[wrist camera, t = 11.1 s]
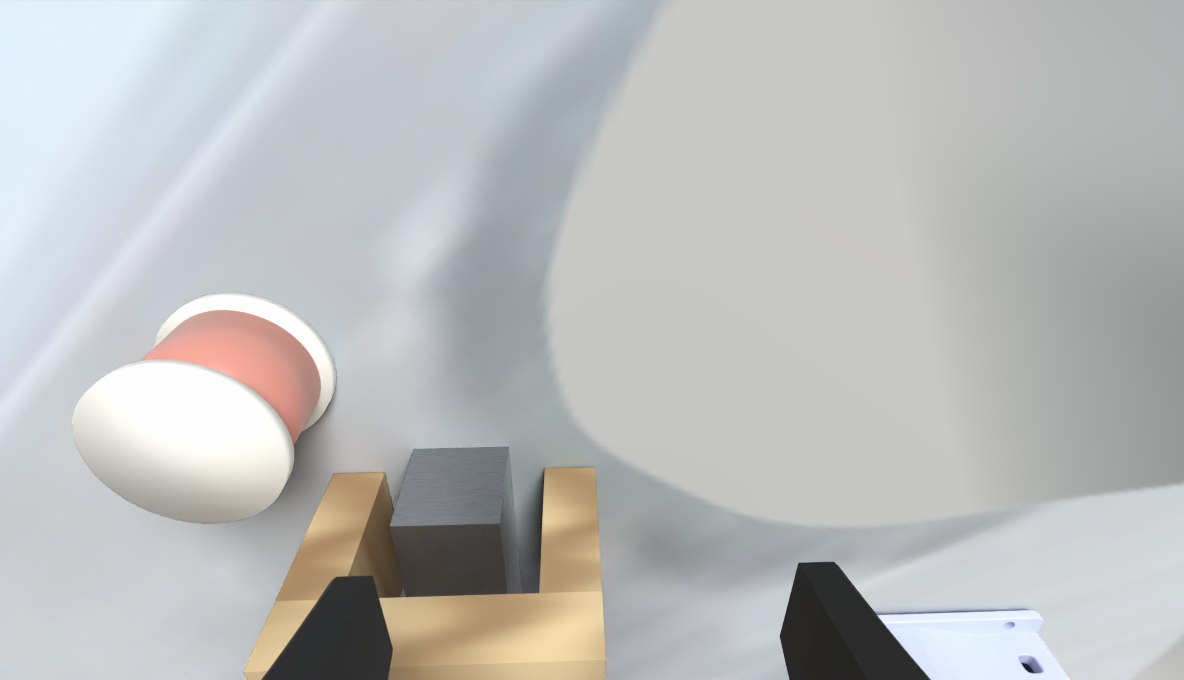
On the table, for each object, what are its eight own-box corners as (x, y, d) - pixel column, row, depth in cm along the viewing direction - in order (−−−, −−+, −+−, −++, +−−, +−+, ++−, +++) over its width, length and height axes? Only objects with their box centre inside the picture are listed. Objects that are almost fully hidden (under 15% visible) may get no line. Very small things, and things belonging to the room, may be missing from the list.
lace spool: (315, 290, 18) (255, 368, 14) (350, 427, 20) (307, 520, 17) (137, 293, 18) (33, 373, 14) (195, 431, 20) (120, 526, 17)
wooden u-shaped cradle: (595, 467, 22) (605, 659, 16) (594, 563, 24) (604, 760, 18) (333, 473, 21) (243, 672, 15) (361, 570, 24) (293, 772, 18)
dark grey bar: (510, 446, 21) (501, 525, 18) (534, 705, 29) (530, 789, 26) (412, 448, 21) (386, 529, 18) (463, 708, 29) (452, 793, 26)
